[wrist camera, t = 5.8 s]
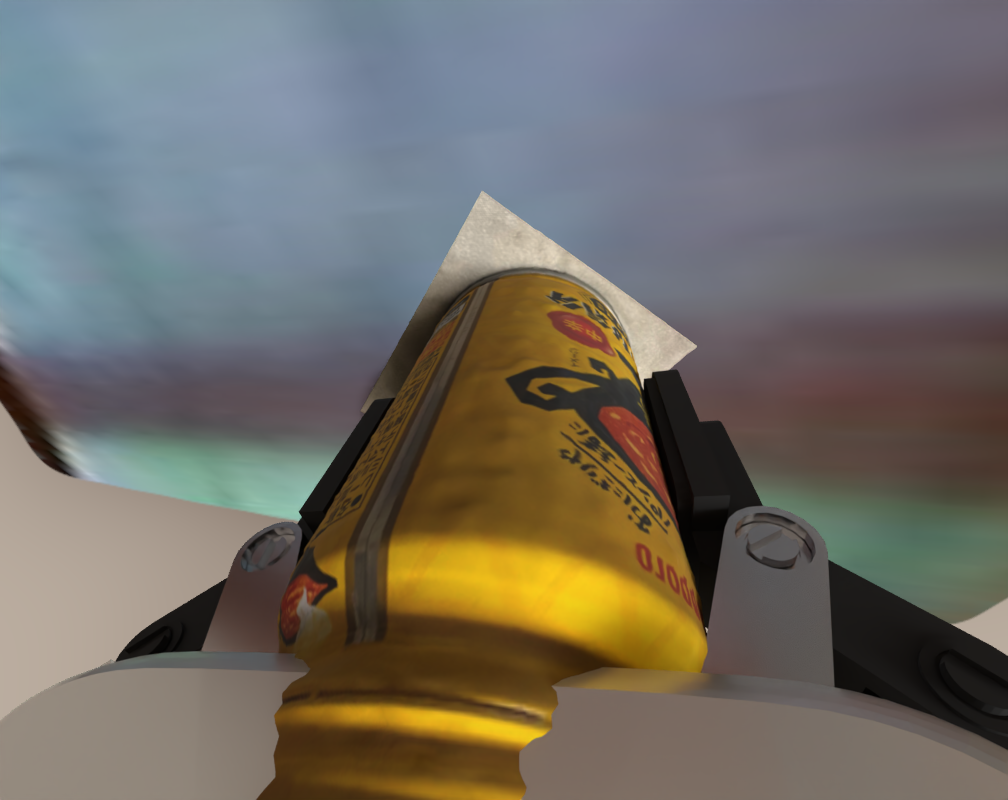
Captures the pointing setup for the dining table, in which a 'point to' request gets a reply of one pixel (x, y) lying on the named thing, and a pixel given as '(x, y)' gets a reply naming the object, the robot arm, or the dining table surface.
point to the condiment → (487, 533)
